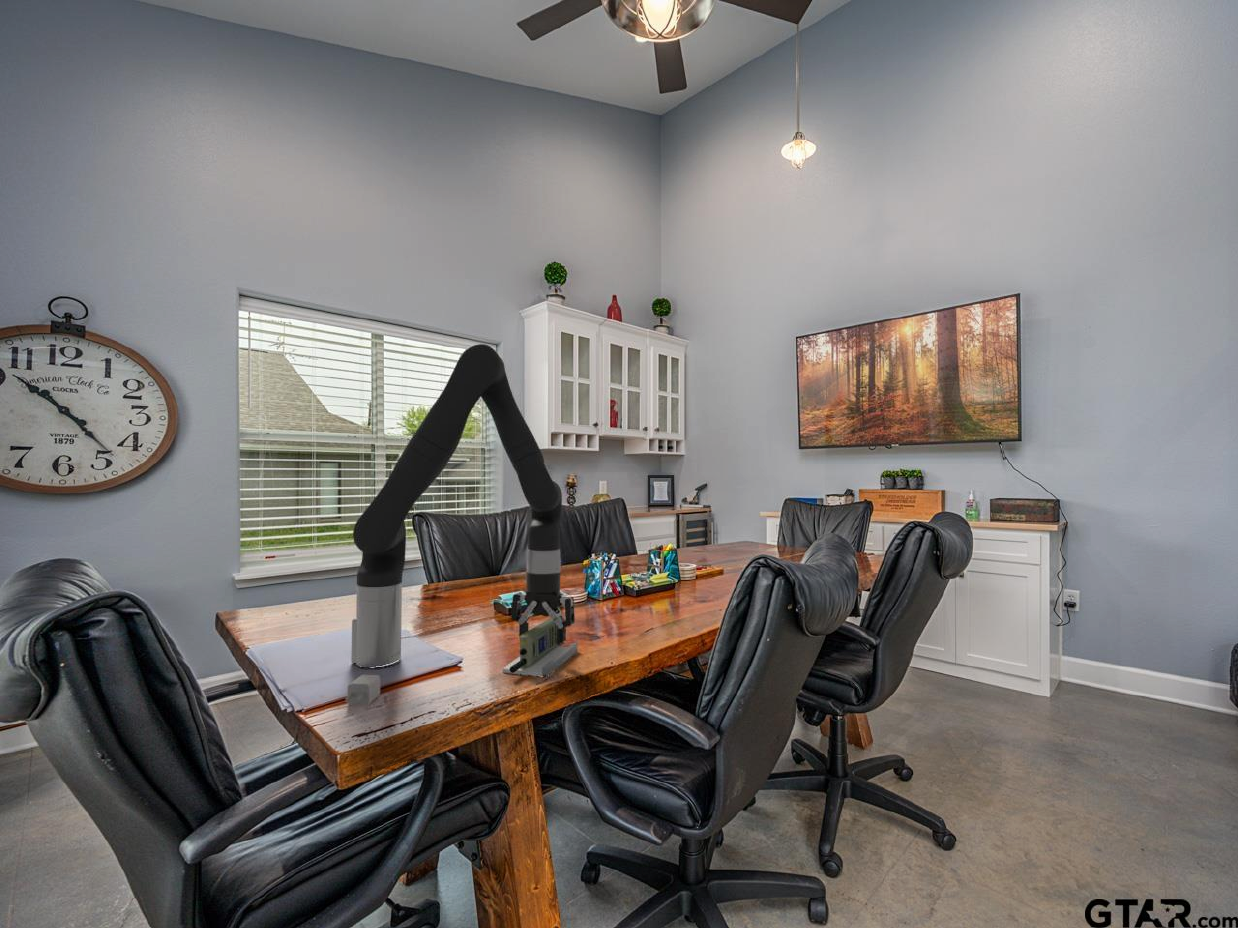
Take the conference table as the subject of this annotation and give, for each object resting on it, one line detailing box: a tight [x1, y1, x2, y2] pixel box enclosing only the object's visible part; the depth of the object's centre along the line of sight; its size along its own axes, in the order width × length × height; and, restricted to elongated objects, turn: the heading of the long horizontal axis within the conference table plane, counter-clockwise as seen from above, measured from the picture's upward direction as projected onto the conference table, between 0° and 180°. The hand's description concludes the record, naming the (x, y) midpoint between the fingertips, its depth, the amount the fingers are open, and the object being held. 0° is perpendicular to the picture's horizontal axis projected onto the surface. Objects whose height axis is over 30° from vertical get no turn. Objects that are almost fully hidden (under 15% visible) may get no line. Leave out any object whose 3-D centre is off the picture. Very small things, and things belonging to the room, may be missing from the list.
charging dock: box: [502, 642, 579, 678], centre depth 130 cm, size 10×18×2 cm, turn 164°
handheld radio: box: [509, 616, 559, 674], centre depth 131 cm, size 7×3×25 cm
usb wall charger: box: [345, 674, 381, 707], centre depth 106 cm, size 4×7×4 cm, turn 178°
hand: (542, 642), depth 130 cm, fingers open, 8 cm apart
